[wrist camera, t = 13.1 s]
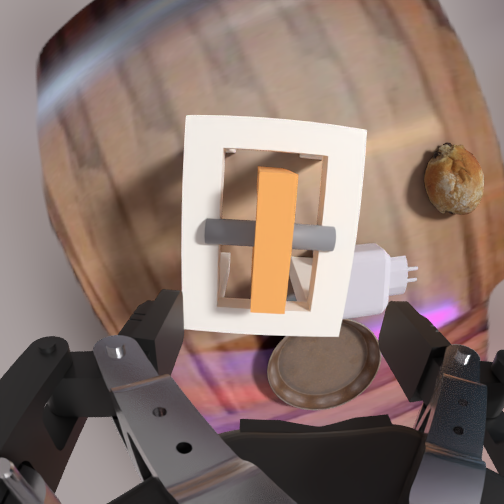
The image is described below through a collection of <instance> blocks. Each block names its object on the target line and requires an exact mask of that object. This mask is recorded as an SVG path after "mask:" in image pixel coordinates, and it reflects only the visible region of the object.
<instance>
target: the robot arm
mask: <svg viewBox="0 0 504 504" xmlns="http://www.w3.org/2000/svg"><path fill="white" fill-rule="evenodd" d="M183 337H184V313H183V293H182V291H177V290H165V289H162V290H161V292H160V293H159V295H158V296H157V298H156V299H155V301H149V300H148V301H146V302H145V303H143V304H141V305H139V306H138V307H137V309H136V310H135V312H134V314H132V316H131V317H130V320H128V321H127V323H126V324H125V325H124V327H123V328H122V330H121V331H120V332H119V334H118V335H115V336H109V337H105V338H103V339H101V340H99V341H98V342H97V343H96V344H95V345H94V348H93V351H87V352H86V351H85V352H70V350H69V345H68V343H67V341H66V340H64V339H63V338H60V337H55V336H50V337H43V338H40V339H38V340H36V341H34V342H33V343H32V344H31V345H30V346H29V347H28V348H27V349H26V350H25V351H24V352H23V354H22V355H21V356H20V357H19V358H18V359H17V360H16V361H15V363H14V364H13V365H12V366H11V367H10V368H9V370H8V371H7V372H6V373H5V374H4V375H3V377H2V378H1V379H0V504H61V502H60V500H59V499H58V498H57V496H56V495H55V492H56V489H57V487H58V484H59V482H60V479H61V477H62V474H63V472H64V470H65V467H66V465H67V462H68V460H69V458H70V455H71V453H72V451H73V449H74V446H75V444H76V442H77V440H78V437H79V435H80V433H81V431H82V429H83V427H84V424H85V422H86V420H87V418H88V417H111V419H112V421H113V423H114V425H115V427H116V430H117V432H118V434H119V436H120V438H121V440H122V442H123V444H124V447H125V449H126V451H127V453H128V454H129V456H130V458H131V461H132V463H133V465H134V467H135V469H136V472H137V474H138V476H139V477H140V479H141V482H142V483H140V484H139V485H137V486H135V487H134V488H132V489H131V490H129V491H127V492H126V493H124V494H122V495H121V496H119V497H117V498H116V499H114V500H112V501H111V502H109V503H107V504H504V412H503V411H502V410H503V408H504V350H500V351H498V352H497V354H496V356H495V358H494V361H493V362H486V361H480V357H479V355H478V354H477V353H476V352H475V351H474V350H473V349H471V348H469V347H467V346H463V345H457V344H455V345H451V344H450V342H449V341H448V340H447V339H446V338H445V337H444V336H443V335H442V334H441V333H440V332H438V330H437V328H436V327H435V326H433V324H432V323H431V322H430V321H429V320H428V319H427V318H425V317H424V316H422V315H420V314H419V313H418V312H417V311H416V310H415V309H414V308H413V307H412V306H411V305H410V304H409V303H408V302H407V301H390V302H389V303H388V305H387V307H386V311H385V315H384V319H383V323H382V327H381V330H380V334H379V340H378V344H379V349H380V351H381V353H382V355H383V357H384V358H385V360H386V362H387V363H388V365H389V367H390V368H391V370H392V372H393V374H394V375H395V377H396V379H397V381H398V382H399V384H400V386H401V388H402V389H403V391H404V393H405V395H406V397H407V398H408V400H409V402H415V401H422V400H423V404H422V406H421V408H420V410H419V413H418V416H417V419H416V422H415V424H414V427H413V428H410V427H406V426H402V425H395V424H392V423H391V420H390V418H389V416H388V414H387V415H378V416H368V417H357V418H352V419H349V420H345V421H342V422H338V423H334V424H330V425H326V426H322V427H316V426H309V425H303V424H297V423H292V422H286V421H281V420H253V419H240V430H234V431H229V432H224V433H221V434H217V433H216V432H215V430H214V429H213V428H212V427H211V426H210V425H209V423H208V422H207V421H206V420H205V419H204V418H203V416H202V415H201V414H200V413H199V412H198V410H197V409H196V408H195V407H194V405H193V404H192V403H191V402H190V400H189V399H188V398H187V397H186V395H185V394H184V393H183V392H182V390H181V389H180V388H179V386H178V385H177V384H176V382H175V381H174V380H173V379H172V377H171V373H172V370H173V368H174V365H175V362H176V359H177V357H178V354H179V351H180V348H181V346H182V342H183ZM46 403H47V404H46ZM45 405H46V406H45ZM44 406H45V407H44ZM483 445H484V447H485V449H486V450H487V453H488V454H489V456H490V458H491V460H492V461H493V464H494V465H495V467H496V469H497V471H498V473H499V474H498V473H496V472H494V471H492V470H490V469H488V468H486V463H485V462H484V461H482V451H483Z"/></svg>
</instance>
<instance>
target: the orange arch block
mask: <svg viewBox="0 0 504 504" xmlns="http://www.w3.org/2000/svg"><path fill="white" fill-rule="evenodd" d="M297 185H298V174H296V173H294V172H291V171H289V170H287V169H284V168H274V167H259V166H258V175H257V211H256V226H255V241H254V246H253V253H252V273H251V308H250V312H252V313H270V314H285V306H286V297H287V288H288V279H289V270H290V261H291V251H292V241H293V231H294V220H295V209H296V197H297Z"/></svg>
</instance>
